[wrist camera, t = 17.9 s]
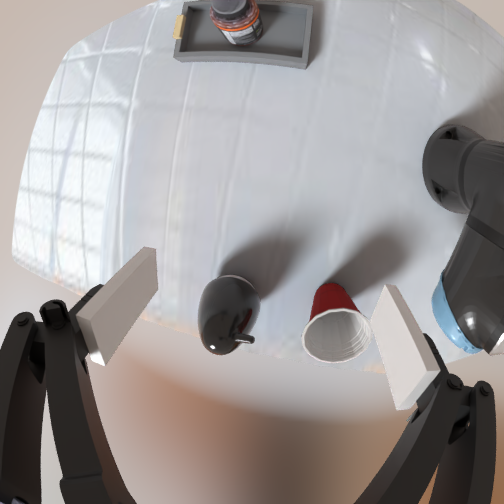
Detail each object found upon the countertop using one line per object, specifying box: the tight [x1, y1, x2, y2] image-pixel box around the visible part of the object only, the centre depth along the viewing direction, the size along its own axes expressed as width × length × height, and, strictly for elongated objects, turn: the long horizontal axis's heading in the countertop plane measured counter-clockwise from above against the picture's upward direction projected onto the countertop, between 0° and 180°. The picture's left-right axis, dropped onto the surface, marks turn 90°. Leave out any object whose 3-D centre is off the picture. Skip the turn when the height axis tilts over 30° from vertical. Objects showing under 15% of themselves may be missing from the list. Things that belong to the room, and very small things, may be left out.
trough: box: [173, 0, 313, 69], centre depth 29 cm, size 19×10×5 cm, turn 83°
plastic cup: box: [302, 283, 372, 363], centre depth 42 cm, size 11×11×12 cm
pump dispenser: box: [198, 275, 260, 355], centre depth 43 cm, size 10×10×15 cm
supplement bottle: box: [210, 0, 263, 46], centre depth 25 cm, size 6×6×11 cm
